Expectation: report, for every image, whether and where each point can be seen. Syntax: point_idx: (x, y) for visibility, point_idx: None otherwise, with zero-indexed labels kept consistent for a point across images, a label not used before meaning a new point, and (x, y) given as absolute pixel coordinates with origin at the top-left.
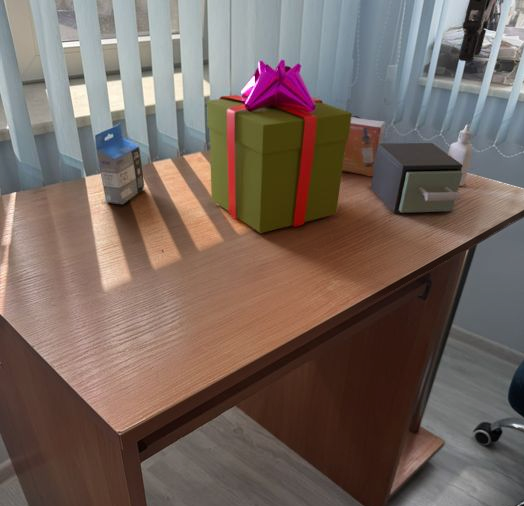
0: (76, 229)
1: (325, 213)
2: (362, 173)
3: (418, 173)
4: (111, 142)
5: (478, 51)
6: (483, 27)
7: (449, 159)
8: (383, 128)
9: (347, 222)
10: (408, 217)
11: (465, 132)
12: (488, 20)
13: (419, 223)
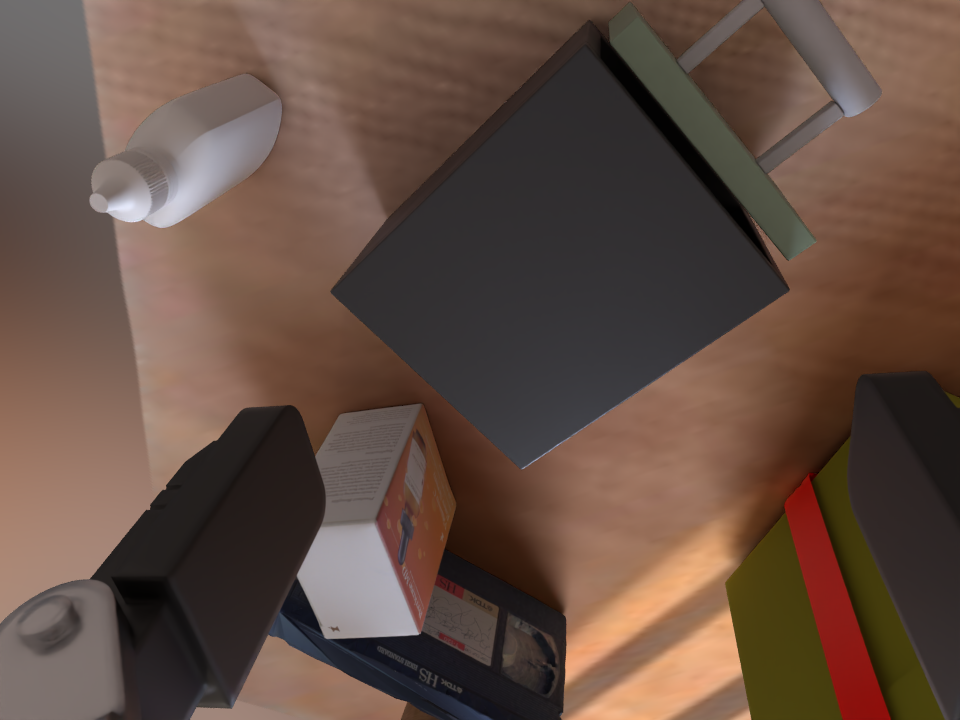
0: None
1: (958, 400)
2: (432, 436)
3: (784, 207)
4: None
5: (283, 428)
6: (154, 633)
7: (538, 136)
8: None
9: (923, 320)
10: (753, 150)
11: (141, 189)
12: (129, 690)
13: (795, 89)
